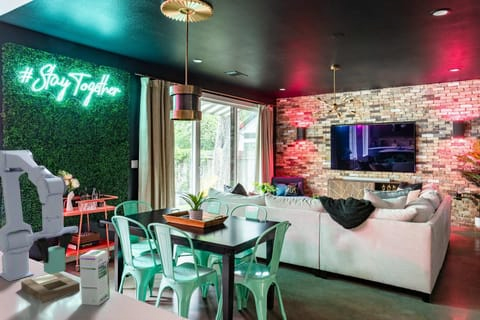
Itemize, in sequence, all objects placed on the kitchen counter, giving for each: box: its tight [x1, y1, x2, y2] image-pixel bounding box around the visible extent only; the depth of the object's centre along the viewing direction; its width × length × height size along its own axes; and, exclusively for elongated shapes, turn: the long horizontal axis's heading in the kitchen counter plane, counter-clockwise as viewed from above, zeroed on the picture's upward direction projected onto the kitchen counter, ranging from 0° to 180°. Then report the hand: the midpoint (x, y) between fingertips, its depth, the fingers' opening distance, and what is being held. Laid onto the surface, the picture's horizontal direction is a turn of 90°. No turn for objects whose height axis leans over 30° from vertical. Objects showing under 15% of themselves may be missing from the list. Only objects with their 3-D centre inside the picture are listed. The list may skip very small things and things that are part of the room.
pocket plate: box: [20, 272, 81, 304], centre depth 113 cm, size 16×11×3 cm
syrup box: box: [79, 249, 111, 306], centre depth 105 cm, size 6×6×14 cm
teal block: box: [43, 245, 66, 275], centre depth 110 cm, size 4×4×7 cm
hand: (54, 260), depth 110 cm, fingers closed on teal block, 4 cm apart
